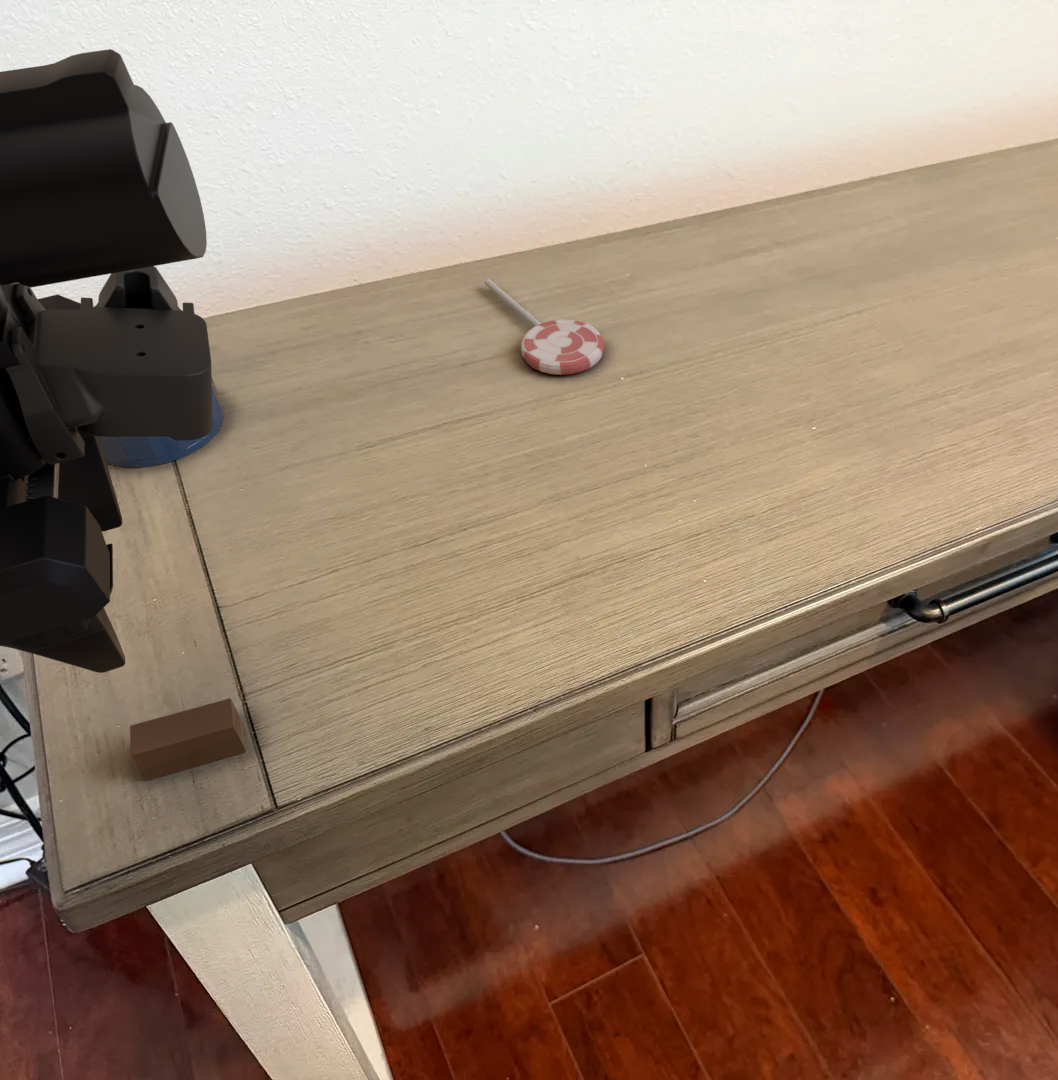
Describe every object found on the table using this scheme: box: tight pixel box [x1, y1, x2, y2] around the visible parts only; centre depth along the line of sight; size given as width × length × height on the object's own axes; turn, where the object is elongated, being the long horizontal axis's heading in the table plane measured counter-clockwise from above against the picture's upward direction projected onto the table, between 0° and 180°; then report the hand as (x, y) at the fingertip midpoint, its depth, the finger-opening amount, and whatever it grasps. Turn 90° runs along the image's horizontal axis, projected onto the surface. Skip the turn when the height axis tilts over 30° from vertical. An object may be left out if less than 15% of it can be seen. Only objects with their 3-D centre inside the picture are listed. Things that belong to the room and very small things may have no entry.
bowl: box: [100, 378, 224, 468], centre depth 74 cm, size 9×9×4 cm
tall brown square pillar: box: [129, 697, 247, 781], centre depth 55 cm, size 2×5×2 cm, turn 113°
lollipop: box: [484, 278, 605, 376], centre depth 85 cm, size 7×1×15 cm
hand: (112, 592), depth 47 cm, fingers open, 9 cm apart
